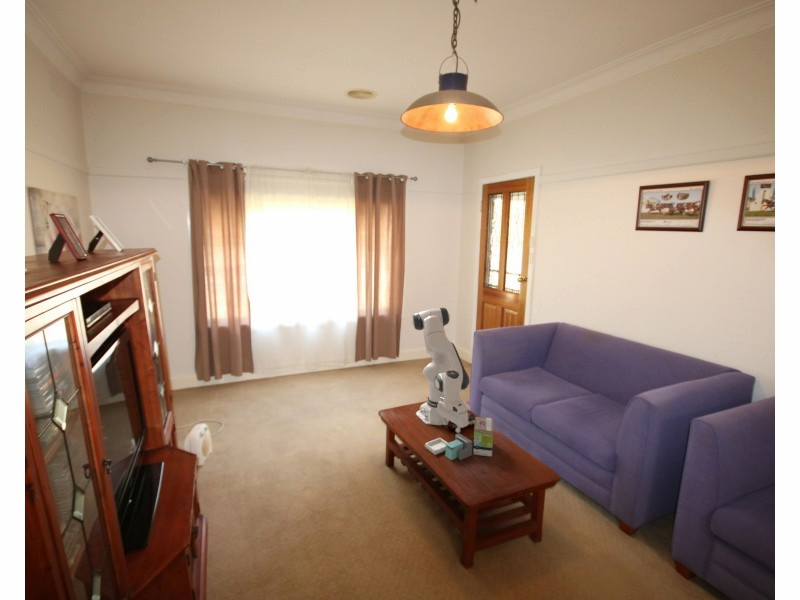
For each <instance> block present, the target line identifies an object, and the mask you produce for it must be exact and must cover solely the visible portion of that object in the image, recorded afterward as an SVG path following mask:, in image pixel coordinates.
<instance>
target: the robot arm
mask: <svg viewBox="0 0 800 600" xmlns="http://www.w3.org/2000/svg"><path fill="white" fill-rule="evenodd" d="M450 317H451V315H450V312H449V311H448V310H447V308H445V307H439V308H430V309H427V310H422V311H420V312H415V313H413V315H412V318H411V324H412V327H414V329H415V330H417V331H422V332H423V333H422V334H423V340H424V346H425V351H426V353H427V354H429V355H430V357H431V360H432V361H431V362H429V363H428V364H427V365H426V366H425V367H424V368H423V371H422V375H423V377H424V379H425V380H426V381H427V383H428V396H427V397H426V400H427V401H426V402H423V404H421V405H420V407H419V410H417V411H416V412H415V415H416V416H417V417H418V419H420V420H421V421H422V422H423V423H424V424H425V425H432V426H433V425H435V426H443V425H444V426H448V425H449V421H450V422H451V423H453V424H455V425H456V428H455V432H456V433H457V434H458V433H461V429H462V428H463V429H464V428H465V427H468V424H469V414H468V410H469V407H468V405H467V404H466V403H465V402H464V401H463V400H462V396H461V391H465V390H466V389H467V388H468V386H469V385H470V383H471V382H470V381H471V380H470V377H469V374H468V372H467V371H466V369H465V366H464V365H463V361H462V359H461V357H460V354H459V352H458V350H457V347H456V346H455V344H454V343H453V342H451V341H450V339H448V336H447V334H446V330H445V326H447V325H448V324H449V323H450V319H451V318H450ZM453 369H454V370H453Z"/></svg>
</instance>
